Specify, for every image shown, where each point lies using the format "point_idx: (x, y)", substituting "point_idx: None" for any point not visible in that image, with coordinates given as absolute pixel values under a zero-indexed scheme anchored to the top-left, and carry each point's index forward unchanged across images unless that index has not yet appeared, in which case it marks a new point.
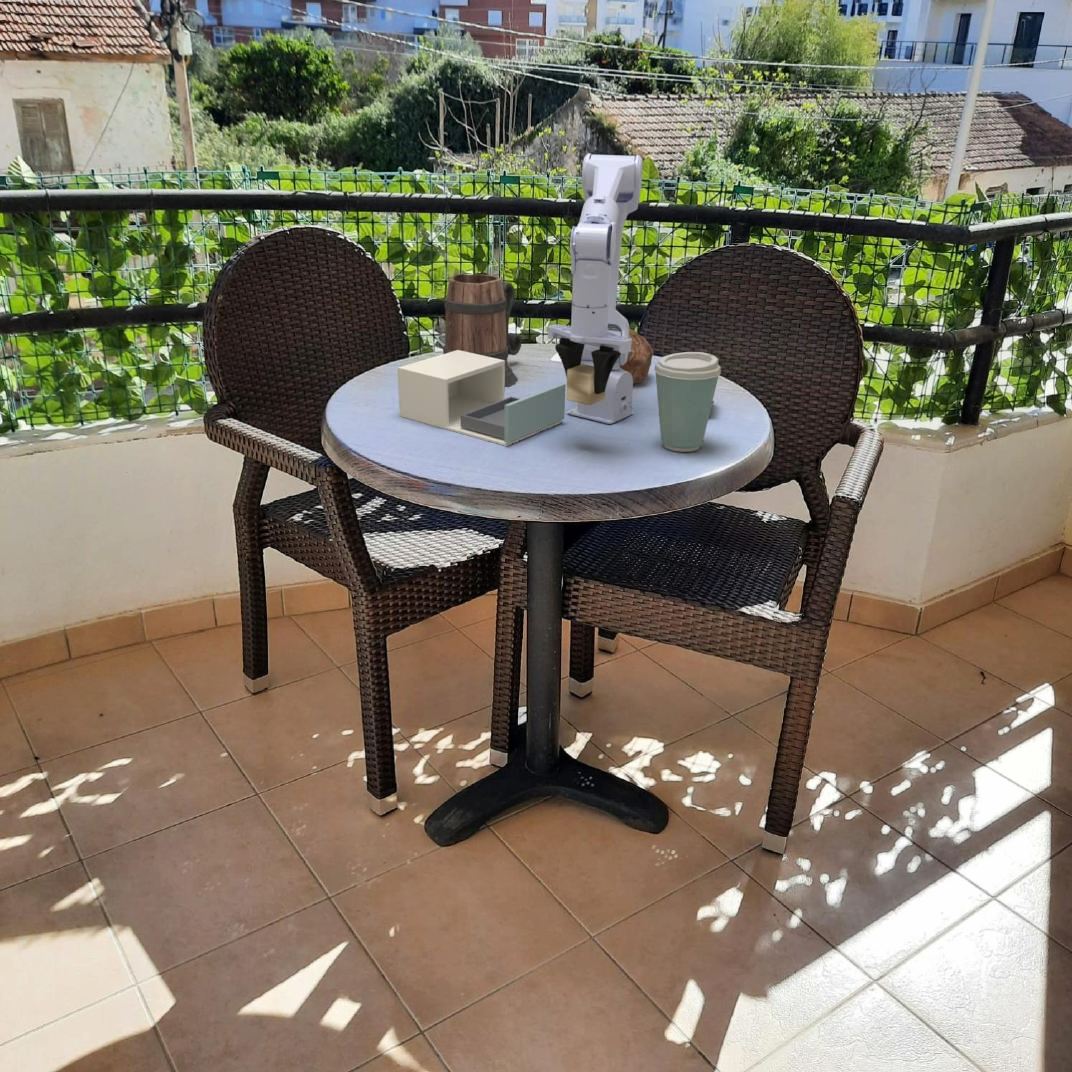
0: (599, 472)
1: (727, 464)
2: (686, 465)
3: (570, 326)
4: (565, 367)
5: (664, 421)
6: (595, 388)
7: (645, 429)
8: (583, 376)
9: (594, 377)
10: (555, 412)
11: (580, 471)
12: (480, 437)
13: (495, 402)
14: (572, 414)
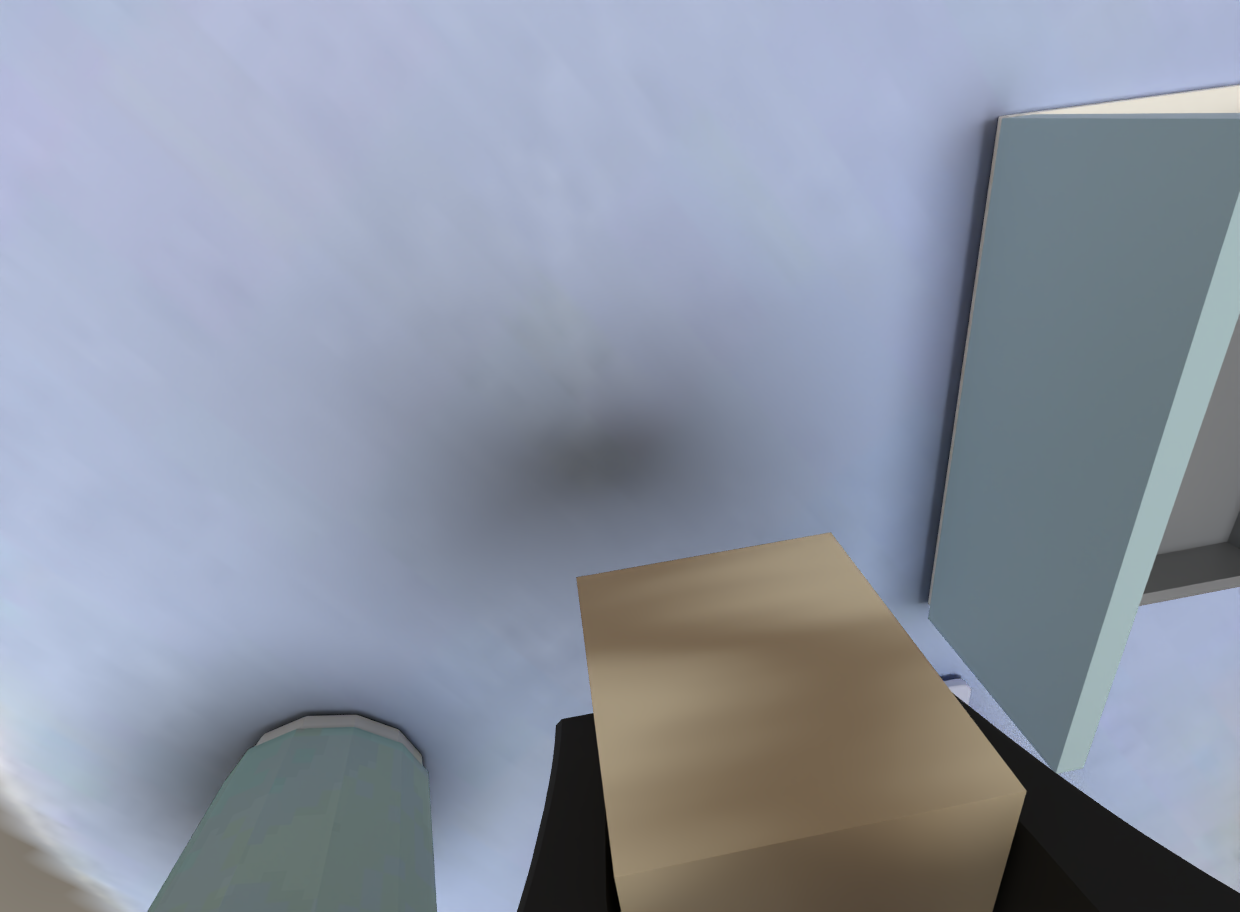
0: (265, 223)
1: (17, 777)
2: (101, 649)
3: None
4: (1088, 820)
5: (313, 833)
6: (584, 754)
7: None
8: (729, 804)
9: (601, 871)
10: (971, 592)
11: (353, 137)
12: (1208, 89)
13: None
14: None
